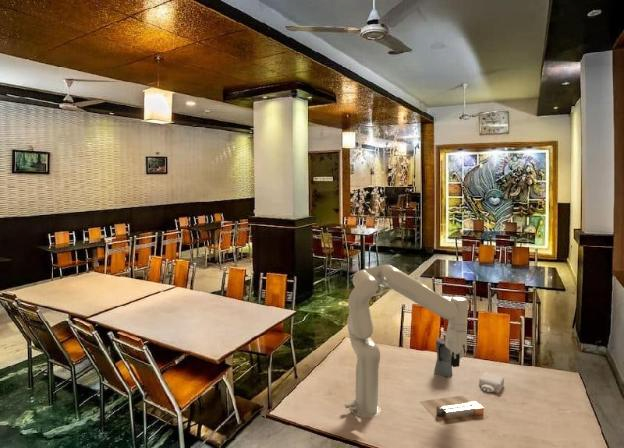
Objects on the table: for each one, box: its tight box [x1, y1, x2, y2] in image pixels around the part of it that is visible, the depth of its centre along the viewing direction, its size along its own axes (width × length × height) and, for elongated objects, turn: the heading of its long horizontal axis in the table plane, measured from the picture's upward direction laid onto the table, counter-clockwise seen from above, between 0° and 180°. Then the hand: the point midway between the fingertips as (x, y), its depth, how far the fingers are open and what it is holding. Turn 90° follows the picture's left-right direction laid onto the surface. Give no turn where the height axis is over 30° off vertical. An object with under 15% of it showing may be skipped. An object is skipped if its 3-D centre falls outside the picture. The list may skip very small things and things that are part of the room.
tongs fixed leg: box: [444, 404, 485, 419], centre depth 172 cm, size 17×2×3 cm, turn 104°
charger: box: [478, 371, 505, 394], centre depth 197 cm, size 5×9×15 cm
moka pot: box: [433, 335, 453, 378], centre depth 211 cm, size 10×15×20 cm, turn 148°
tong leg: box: [436, 400, 480, 417], centre depth 175 cm, size 19×3×3 cm, turn 103°
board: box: [418, 395, 489, 425], centre depth 178 cm, size 22×18×1 cm
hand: (455, 365), depth 182 cm, fingers closed
